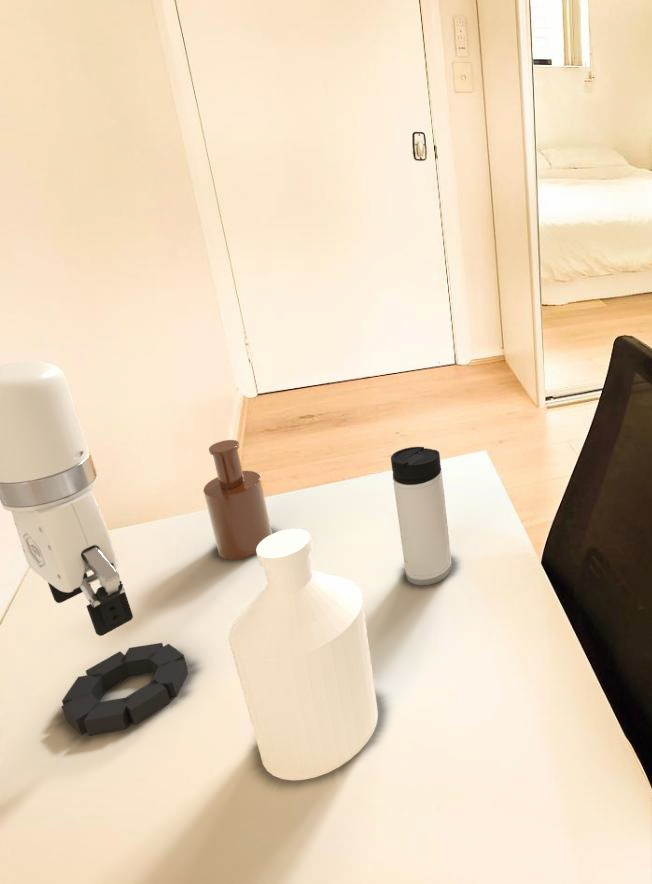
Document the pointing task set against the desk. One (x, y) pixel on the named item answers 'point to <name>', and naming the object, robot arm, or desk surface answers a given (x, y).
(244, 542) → the amber bottle
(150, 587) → the desk surface
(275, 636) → the bottle
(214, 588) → the desk surface
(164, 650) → the rubber ring
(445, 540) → the travel mug
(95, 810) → the desk surface
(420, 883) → the desk surface
